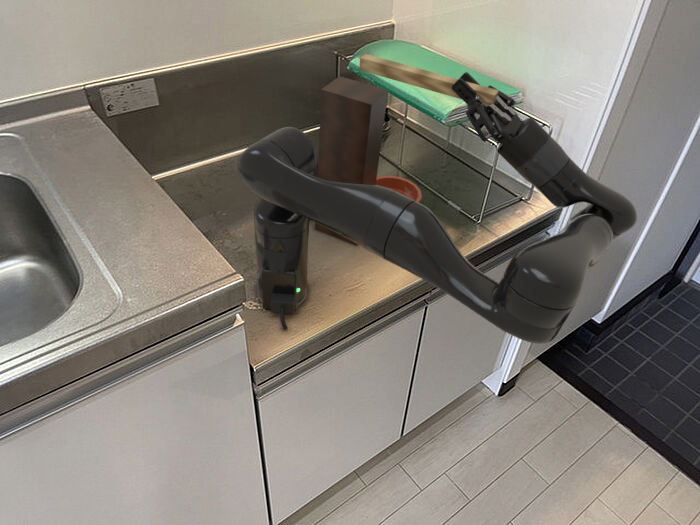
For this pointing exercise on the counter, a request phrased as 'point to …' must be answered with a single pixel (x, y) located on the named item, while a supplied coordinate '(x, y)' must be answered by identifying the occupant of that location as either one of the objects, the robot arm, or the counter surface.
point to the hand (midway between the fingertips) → (458, 79)
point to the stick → (420, 77)
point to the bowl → (400, 186)
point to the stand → (350, 134)
